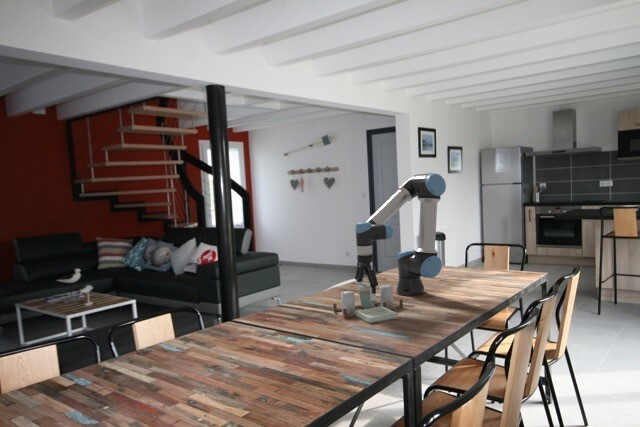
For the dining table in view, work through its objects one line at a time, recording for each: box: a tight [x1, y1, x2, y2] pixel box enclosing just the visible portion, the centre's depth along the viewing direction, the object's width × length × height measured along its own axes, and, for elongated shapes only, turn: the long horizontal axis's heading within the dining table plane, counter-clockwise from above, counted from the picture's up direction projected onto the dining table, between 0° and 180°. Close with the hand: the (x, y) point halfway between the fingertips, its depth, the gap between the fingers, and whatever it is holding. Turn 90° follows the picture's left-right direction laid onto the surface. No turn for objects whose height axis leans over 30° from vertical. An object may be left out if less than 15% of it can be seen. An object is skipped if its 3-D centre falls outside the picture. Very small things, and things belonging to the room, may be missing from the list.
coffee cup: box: [357, 283, 376, 309], centre depth 233 cm, size 8×8×12 cm
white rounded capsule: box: [340, 290, 356, 315], centre depth 230 cm, size 6×6×10 cm
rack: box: [332, 298, 404, 319], centre depth 234 cm, size 32×14×4 cm, turn 111°
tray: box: [355, 305, 398, 324], centre depth 220 cm, size 14×14×2 cm
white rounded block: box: [379, 284, 395, 308], centre depth 237 cm, size 6×6×10 cm
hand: (367, 297), depth 233 cm, fingers open, 13 cm apart
